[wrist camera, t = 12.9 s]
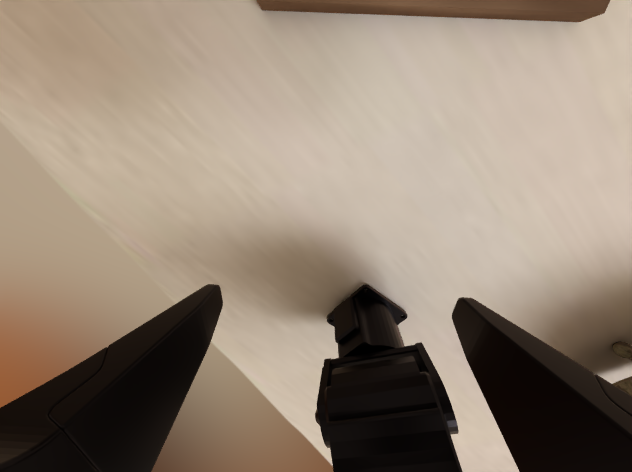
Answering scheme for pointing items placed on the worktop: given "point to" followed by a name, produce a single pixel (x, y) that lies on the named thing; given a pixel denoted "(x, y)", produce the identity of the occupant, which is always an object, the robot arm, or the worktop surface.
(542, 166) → the worktop surface
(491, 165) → the worktop surface
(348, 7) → the walnut seat board
